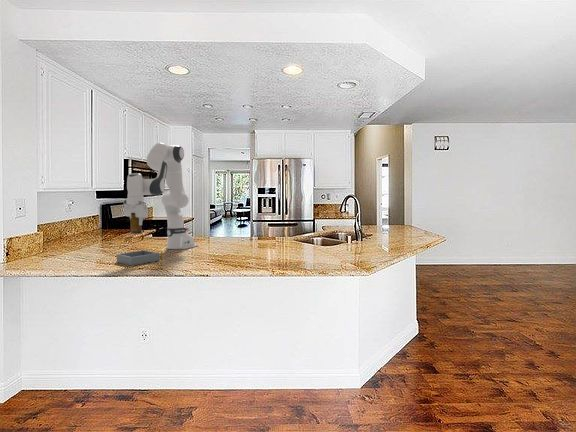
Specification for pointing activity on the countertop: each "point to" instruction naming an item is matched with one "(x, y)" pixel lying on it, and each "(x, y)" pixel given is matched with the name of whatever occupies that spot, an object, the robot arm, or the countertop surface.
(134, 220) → the condiment
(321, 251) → the countertop surface
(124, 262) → the bin
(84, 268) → the countertop surface
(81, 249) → the countertop surface
